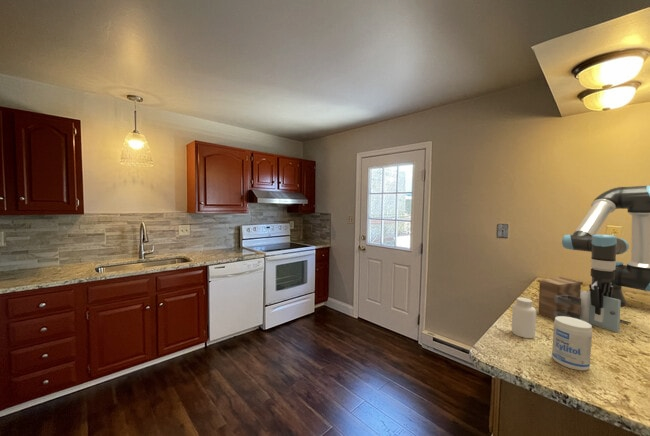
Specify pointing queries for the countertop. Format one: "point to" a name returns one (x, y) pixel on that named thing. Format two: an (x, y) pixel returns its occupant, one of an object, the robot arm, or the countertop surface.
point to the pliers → (624, 322)
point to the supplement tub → (572, 342)
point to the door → (609, 316)
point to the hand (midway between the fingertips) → (600, 320)
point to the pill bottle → (524, 318)
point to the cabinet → (559, 297)
